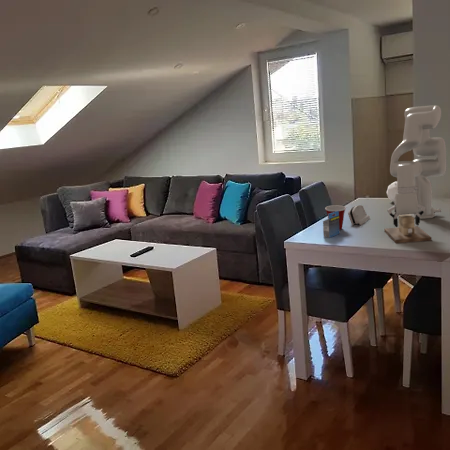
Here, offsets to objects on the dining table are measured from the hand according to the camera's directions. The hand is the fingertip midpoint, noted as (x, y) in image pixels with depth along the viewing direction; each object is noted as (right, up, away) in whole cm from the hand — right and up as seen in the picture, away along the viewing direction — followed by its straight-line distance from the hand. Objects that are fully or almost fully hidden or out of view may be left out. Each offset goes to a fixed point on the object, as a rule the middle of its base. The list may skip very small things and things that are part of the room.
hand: (406, 225), depth 234 cm
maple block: (0, -3, +1) cm, 4 cm away
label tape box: (-32, -5, +16) cm, 36 cm away
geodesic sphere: (+24, +15, +79) cm, 84 cm away
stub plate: (+1, -5, +1) cm, 5 cm away
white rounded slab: (-12, +2, +39) cm, 40 cm away
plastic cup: (-27, -2, +27) cm, 38 cm away
